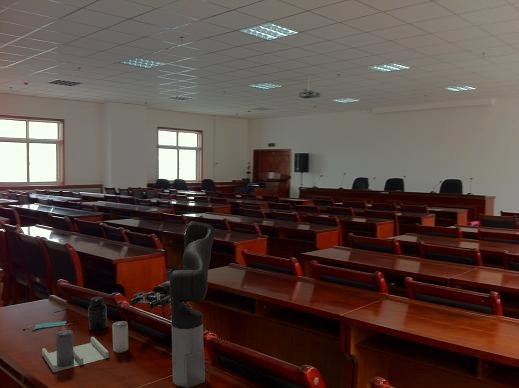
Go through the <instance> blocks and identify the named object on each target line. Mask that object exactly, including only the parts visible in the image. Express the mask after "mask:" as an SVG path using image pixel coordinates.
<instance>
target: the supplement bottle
mask: <svg viewBox="0 0 519 388" xmlns="http://www.w3.org/2000/svg"><path fill="white" fill-rule="evenodd" d="M89 300H90V302H89V303H90V305H89V306H88V308H87V315H88V329H89V330H90V331H95V332H96V331H101V330H104V329H107V327H108V315H107V313H108V312H107V304H105V303H104V297H103V296H94V297H91V298H90V299H89Z"/></svg>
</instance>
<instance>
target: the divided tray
mask: <svg viewBox="0 0 519 388" xmlns="http://www.w3.org/2000/svg"><path fill="white" fill-rule="evenodd" d="M73 350H74V363H73V364H72V365H70V366H67V367H58V366H57V353H56V350H55V351H52V352H48V350H47V349H46V348H45V347H44V348H41V356H42V357H43V359H44V360H45V361H46V363H47V364H48V366H49V368H50V369H51V371H52V373H56V372H60V371H64V370H67V369H71V368H75V367H78V366H82V365H86V364H89V363H93V362H98V361H101V360H105V359H108V358H109V353H110V352H109V350H107V349H106V347H104V346H103V344H102V343H101V342H100V341H98V340H97V338H95V336H91V337H90V342H89V343H84V344H81V345H80V344H79V345H76V346H74V345H73Z"/></svg>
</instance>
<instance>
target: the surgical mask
mask: <svg viewBox="0 0 519 388" xmlns="http://www.w3.org/2000/svg"><path fill="white" fill-rule="evenodd" d="M68 310H70V308H66V309H62V310H61V312H64V311H68ZM59 312H60V310H57V311H55V312H54V311H53V314H55V313H59ZM78 321H79V320H78V319H77V320H73V321H69V325H71V324H72V323H75V322H78ZM66 325H68V322H67V321H66V320H63V321H54V322H53V321H52V322H45V323H39V324H35V325H32V326H28V327H27V330H30V328H31V327H34V328H33V329H32V332H35V331H39V330H41V329H46V328H56V327H62V326H66ZM25 330H26V328H23V329H22V331H25Z"/></svg>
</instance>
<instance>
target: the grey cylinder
mask: <svg viewBox="0 0 519 388" xmlns="http://www.w3.org/2000/svg"><path fill="white" fill-rule="evenodd" d="M73 346H74V331H73V330H71V329H67V330H66V329H64V330H60V331H57V332H56V333H55V348H56V350H55V351H56V353H57V366H58V367H67V366H70V365H72V364H73V363H74V350H73Z"/></svg>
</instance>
